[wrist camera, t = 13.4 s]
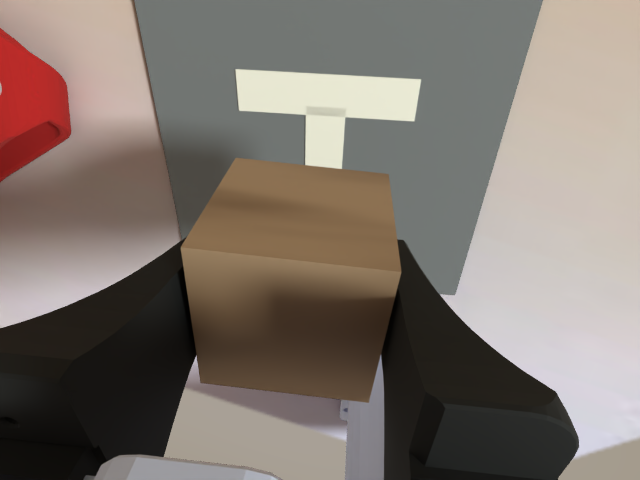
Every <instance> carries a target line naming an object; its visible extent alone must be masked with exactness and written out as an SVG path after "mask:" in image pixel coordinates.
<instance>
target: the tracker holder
mask: <svg viewBox="0 0 640 480" xmlns="http://www.w3.org/2000/svg"><path fill="white" fill-rule="evenodd" d="M70 134H71V125H70V114H69V103H68V92H67V85H66V82H65V81H64V79H63V78H62V76H61V75H60V74H59V73H58V72H57V71H56V70H55V69H54V68H52V67H51V66H50V65H48V64H47V63H45V62H44V61H42V60H41V59H39V58H38V57H36V56H35V55H33V54H32V53H30V52H29V51H28V50H27V49H25V48H24V47H23V46H22V45H21V44H20V43H19V42H17V41H16V40H15V39H14V38H12V37H11V36H10V35H8V34H7V33H6V32H4V31H3V30H2V29H1V28H0V182H1V181H2V180H3V179H5V178H6V177H7V176H9V175H11V174H12V173H14V172H15V171H17V170H19V169H20V168H22V167H23V166H25V165H27V164H28V163H30V162H31V161H33V160H35V159H36V158H38V157H39V156H41V155H43V154H44V153H46V152H47V151H49V150H50V149H52V148H54V147H55V146H57V145H58V144H60V143H62V142H63V141H65V140H66V139H67V138H69V136H70Z"/></svg>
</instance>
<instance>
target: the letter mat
mask: <svg viewBox="0 0 640 480" xmlns="http://www.w3.org/2000/svg"><path fill="white" fill-rule="evenodd" d="M542 1H543V0H134V2H135V7H136V12H137V17H138V22H139V27H140V32H141V37H142V42H143V47H144V52H145V57H146V62H147V67H148V72H149V77H150V82H151V87H152V92H153V97H154V102H155V107H156V112H157V117H158V122H159V127H160V132H161V137H162V142H163V147H164V152H165V157H166V162H167V167H168V172H169V177H170V182H171V187H172V192H173V197H174V202H175V207H176V212H177V217H178V222H179V227H180V232H181V237H182V240H183V239H184V238H186V237H187V236H188V235H189V233H190V231H191V230H192V228H193V226H194V225H195V223H196V221H197V220H198V218H199V217H200V215H201V213H202V212H203V210H204V208H205V207H206V205H207V204H208V202H209V200H210V199H211V197H212V195H213V194H214V192H215V191H216V189H217V187H218V186H219V184H220V182H221V181H222V179H223V178H224V176H225V174H226V173H227V171H228V169H229V168H230V166H231V165H232V163H233V161H234V160H235V158H243V159H253V160H262V161H272V162H281V163H290V164H300V165H309V166H318V167H328V168H337V169H347V170H356V171H365V172H375V173H384V174H389V181H390V188H391V196H392V204H393V211H394V219H395V227H396V234H397V239H399V240H404V241H405V242H406V243H407V245H408V247H409V249H410V251H411V253H412V254H413V256H414V258H415V260H416V261H417V263H418V264H419V266H420V268H421V269H422V271H423V272H424V274H425V275H426V277H427V278H428V279H429V281H430V282H431V284H432V285H433V287H434V288H435V289H436V291H437V292H438V293H439V294H446V295H455V293H456V290H457V287H458V283H459V280H460V277H461V273H462V270H463V266H464V263H465V260H466V256H467V253H468V250H469V246H470V243H471V240H472V236H473V233H474V230H475V226H476V223H477V219H478V216H479V213H480V209H481V206H482V203H483V199H484V196H485V193H486V189H487V186H488V183H489V179H490V176H491V173H492V169H493V166H494V162H495V159H496V156H497V152H498V149H499V146H500V142H501V139H502V136H503V132H504V129H505V126H506V122H507V119H508V115H509V112H510V109H511V105H512V102H513V99H514V95H515V92H516V89H517V85H518V82H519V79H520V75H521V72H522V68H523V65H524V62H525V58H526V55H527V52H528V48H529V45H530V42H531V38H532V35H533V32H534V28H535V25H536V21H537V18H538V15H539V11H540V8H541V5H542Z"/></svg>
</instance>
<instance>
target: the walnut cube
mask: <svg viewBox="0 0 640 480" xmlns="http://www.w3.org/2000/svg"><path fill="white" fill-rule="evenodd" d="M181 254H182V260H183V267H184V274H185V281H186V287H187V294H188V301H189V307H190V314H191V321H192V328H193V334H194V341H195V348H196V355H197V361H198V368H199V375H200V382H201V383H206V384H214V385H223V386H231V387H240V388H248V389H257V390H265V391H273V392H282V393H290V394H299V395H307V396H316V397H324V398H332V399H341V400H349V401H358V402H366V403H369V400H370V396H371V392H372V388H373V384H374V380H375V376H376V372H377V368H378V364H379V360H380V356H381V352H382V348H383V344H384V340H385V336H386V332H387V328H388V324H389V320H390V316H391V312H392V308H393V304H394V300H395V296H396V292H397V288H398V284H399V280H400V276H401V265H400V257H399V250H398V242H397V234H396V227H395V219H394V211H393V204H392V196H391V188H390V181H389V174H384V173H375V172H365V171H356V170H347V169H337V168H328V167H318V166H309V165H300V164H290V163H281V162H272V161H262V160H253V159H243V158H235V160H234V161H233V163H232V165H231V166H230V168H229V169H228V171H227V173H226V174H225V176H224V178H223V179H222V181H221V182H220V184H219V186H218V187H217V189H216V191H215V192H214V194H213V195H212V197H211V199H210V200H209V202H208V204H207V205H206V207H205V208H204V210H203V212H202V213H201V215H200V217H199V218H198V220H197V221H196V223H195V225H194V226H193V228H192V230H191V231H190V233H189V235H188V236H187V238H186V239H185V241H184V243H183V244H182V246H181Z"/></svg>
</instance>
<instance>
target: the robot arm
mask: <svg viewBox="0 0 640 480" xmlns="http://www.w3.org/2000/svg"><path fill="white" fill-rule="evenodd" d="M186 238H187V237H186ZM186 238H184V239H183V240H182V241H180V242H179V243H177V244H176V245H175V246H173V247H172V248H170V249H169V250H168V251H166V252H165V253H164V254H162V255H161V256H159V257H158V258H156V259H155V260H153V261H151V262H150V263H148V264H147V265H145V266H144V267H142V268H141V269H139V270H138V271H136V272H134V273H133V274H131V275H129V276H128V277H126V278H124V279H122V280H120V281H119V282H117V283H115V284H113V285H111V286H109V287H107V288H105V289H103V290H101V291H99V292H97V293H95V294H93V295H90V296H88V297H86V298H84V299H81V300H79V301H77V302H75V303H72V304H70V305H68V306H65V307H63V308H60V309H57V310H55V311H52V312H50V313H47V314H44V315H41V316H38V317H36V318H33V319H30V320H27V321H24V322H21V323H17V324H14V325H10V326H7V327H4V328H0V480H282V479H281V478H279V477H277V476H276V475H274V474H272V473H270V472H267V471H262V470H258V469H254V468H250V467H245V466H235V465H227V464H218V463H210V462H201V461H192V460H184V459H175V458H166V457H164V454H165V450H166V446H167V443H168V439H169V436H170V432H171V429H172V425H173V422H174V419H175V416H176V412H177V409H178V406H179V403H180V399H181V396H182V393H183V390H184V387H185V384H186V381H187V378H188V375H189V372H190V369H191V367H192V364H193V362H194V359H195V357H196V348H195V341H194V334H193V328H192V321H191V314H190V307H189V301H188V294H187V287H186V281H185V274H184V267H183V260H182V254H181V246H182V244H183V243H184V241H185V239H186ZM397 242H398V250H399V257H400V265H401V276H400V280H399V284H398V288H397V292H396V296H395V300H394V304H393V308H392V312H391V316H390V320H389V324H388V328H387V332H386V336H385V340H384V344H383V348H382V352H381V356H380V360H379V364H378V368H377V372H376V376H375V380H374V384H373V388H372V392H371V396H370V400H369V403H366V402H358V401H349V400H341V405H340V416H339V417H340V419H341V420H343V421H347V443H346V444H347V445H346V467H345V480H558V477H559V476H560V475H561V473H562V472H563V470H564V469H565V468H566V467H567V465H568V464H569V463H570V461H571V460H572V459H573V457H574V456H575V454H576V452H577V450H578V448H579V439H578V435H577V433H576V431H575V428H574V426H573V424H572V422H571V419H570V417H569V415H568V413H567V411H566V409H565V407H564V406H563V404H562V402H561V400H560V399H559V397H558V395H557V393H556V392H555V391H554V390H552V389H550V388H549V387H547V386H546V385H544V384H543V383H541V382H540V381H538V380H536V379H535V378H533V377H532V376H530V375H529V374H527V373H526V372H524V371H523V370H521V369H520V368H518V367H517V366H516V365H514V364H513V363H512V362H510V361H509V360H507V359H506V358H505V357H503V356H502V355H501V354H500V353H498V352H497V351H496V350H495V349H493V348H492V347H491V346H490V345H488V344H487V343H486V342H485V341H484V340H483V339H482V338H480V337H479V336H478V335H477V334H476V333H475V332H474V331H472V330H471V329H470V328H469V327H468V326H467V325H466V324H465V323H464V322H463V321H462V320H461V319H460V318H459V317H458V316H457V315H456V314H455V312H454V311H453V310H452V309H451V308H450V307H449V306H448V304H447V303H446V302H445V301H444V299H443V298H442V297H441V296H440V294H439V293H438V292H437V291H436V289H435V288H434V287H433V285H432V284H431V282H430V281H429V279H428V278H427V277H426V275H425V274H424V272H423V271H422V269H421V268H420V266H419V264H418V263H417V261H416V260H415V258H414V256H413V254H412V253H411V251H410V249H409V247H408V245H407V243H406V242H405V241H404V240H399V239H397Z"/></svg>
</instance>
